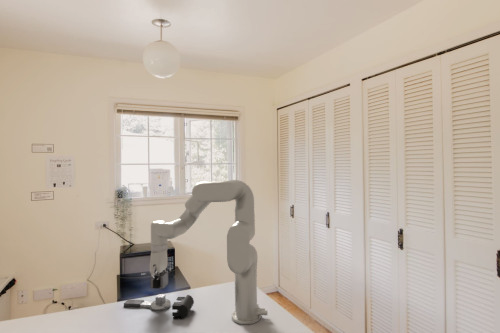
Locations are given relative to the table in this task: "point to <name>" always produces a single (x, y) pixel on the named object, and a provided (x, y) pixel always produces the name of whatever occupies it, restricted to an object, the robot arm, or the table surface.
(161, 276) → the matte grey cube
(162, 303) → the ratchet
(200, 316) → the table surface
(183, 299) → the end cap
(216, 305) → the table surface
